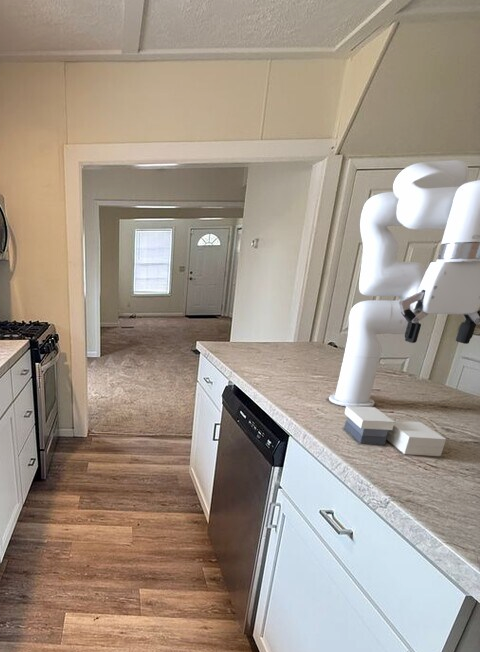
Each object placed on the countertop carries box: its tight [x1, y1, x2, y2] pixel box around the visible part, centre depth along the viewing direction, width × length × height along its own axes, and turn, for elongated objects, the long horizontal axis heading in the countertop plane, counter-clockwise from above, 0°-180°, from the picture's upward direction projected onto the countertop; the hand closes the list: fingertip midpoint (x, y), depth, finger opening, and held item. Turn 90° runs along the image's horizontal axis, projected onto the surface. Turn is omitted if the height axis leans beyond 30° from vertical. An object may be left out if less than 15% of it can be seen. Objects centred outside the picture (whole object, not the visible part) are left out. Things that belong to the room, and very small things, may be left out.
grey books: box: [343, 416, 388, 446], centre depth 103 cm, size 11×6×4 cm, turn 169°
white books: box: [386, 420, 447, 457], centre depth 97 cm, size 11×8×4 cm
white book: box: [344, 406, 395, 430], centre depth 102 cm, size 11×7×2 cm, turn 169°
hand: (435, 342), depth 85 cm, fingers open, 9 cm apart
